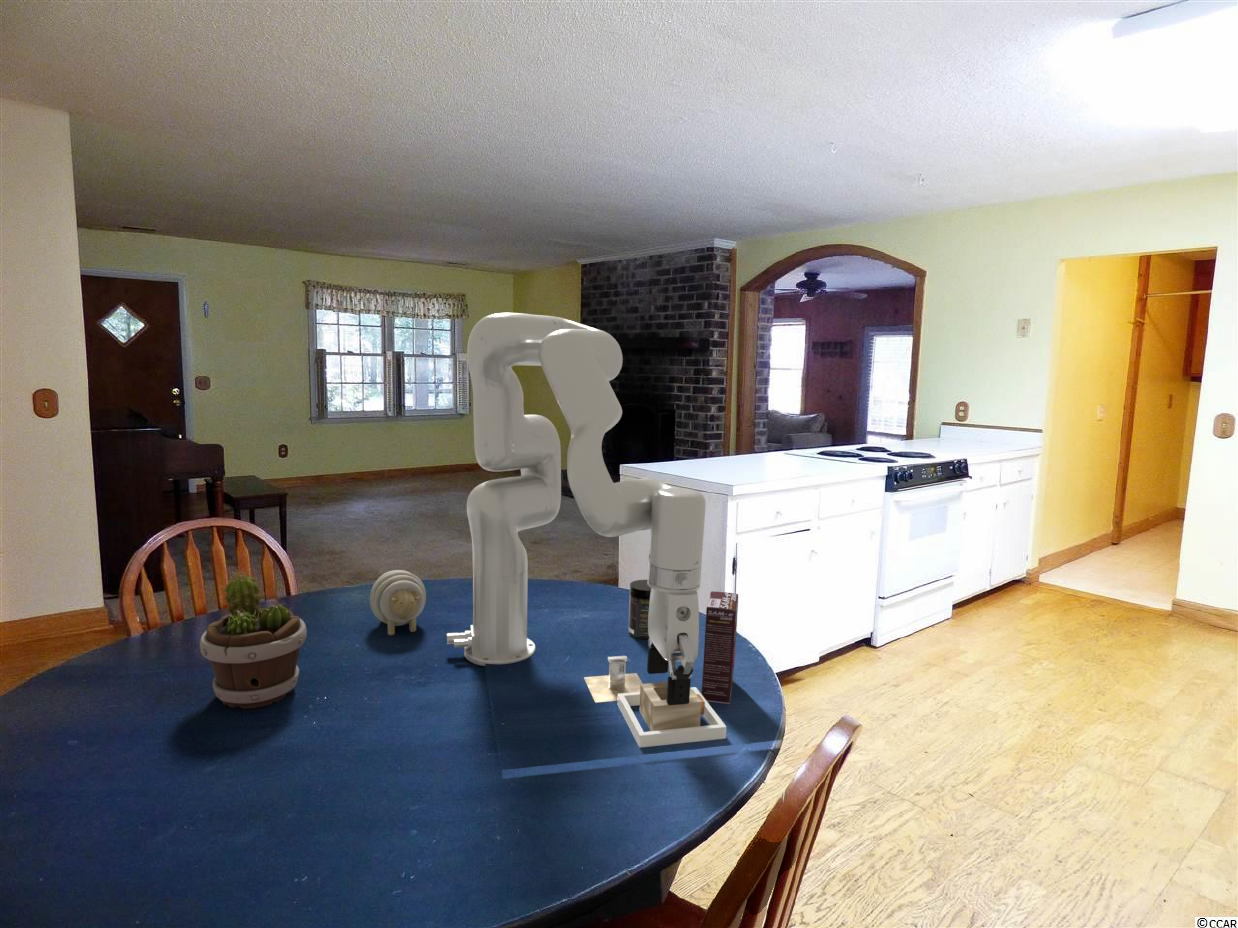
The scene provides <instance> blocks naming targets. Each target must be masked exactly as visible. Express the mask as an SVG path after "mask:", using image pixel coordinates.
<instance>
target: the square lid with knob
mask: <svg viewBox="0 0 1238 928" xmlns="http://www.w3.org/2000/svg"><path fill="white" fill-rule="evenodd" d="M607 661H608V663H609V665H608V675H597V676H595V675H594V676H584V677H583V679H584V681H585V684H586V686H587V687H588V690H589V692H590V695H591V697H592V699H593V701H594V703H595V704H597V703H608V702H617V701H618V694H621V693H633V692H640V684H644V683H643V682H642V680H641V678H640V676H639V675H638V673H637V672H635V673H634V672H632V673H626V667H627V665H626V662H628V657H627V655H617V656H616V655H615V656H607Z"/></svg>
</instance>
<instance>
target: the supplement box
mask: <svg viewBox="0 0 1238 928" xmlns="http://www.w3.org/2000/svg"><path fill="white" fill-rule="evenodd" d="M738 607H739V594H738V593H733V592H725V591H712V590H711V591H710V593H709V600H708V604H707V605H706V608H705V609H706V611H705V625H704V627H705V628H704V629H705V630H704V646H703V647H704V648H703V663H702V664H703V665H702V677H701V679H702V680H701V692H700V693H701V694H702V696H703V697H704V698H705V700H706V701H707V702H708V703H709V702H711V703H719V704H725V705H726V704H728V705H730V704H731V698H732V689H733V683H734V674H735V673H734V670H735V658H736V657H735V656H736V646H737V645H736V641H737V630H738V629H737V626H738V625H737V624H738V610H739V608H738Z"/></svg>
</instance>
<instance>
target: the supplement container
mask: <svg viewBox="0 0 1238 928" xmlns="http://www.w3.org/2000/svg"><path fill="white" fill-rule="evenodd" d="M647 581H648V579H639V580H638V579H637V580H633V581H631V582H630V583H629V602H628V603H629V604H628V605H629V606H628V636H629V638H634V639H637V640H644V641H645V640H646V641H648V640H649V638H650V637H649V634H648V615H649V603H650V594H651V587H649V585H648V584H647Z"/></svg>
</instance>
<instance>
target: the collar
mask: <svg viewBox="0 0 1238 928" xmlns="http://www.w3.org/2000/svg"><path fill="white" fill-rule="evenodd" d="M667 683H668V681H663V682H662V681H661V682H652V683H643V684H640V705H639V713H640V715H641V717H642V718H643V720H644V722H645V724H646V726H647V727H648V729H649V732H650V731H660V730H670V729H680V728H689V727H699V726H701V716H703V714H704V710H705V701H704V700H703V698H702V697H701V696H700V695H699V694H695V693H694V692H693V690H692V689H691V688H690V698H689V703H688V704H681V705H668V704H667V702H666V699H667Z"/></svg>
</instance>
